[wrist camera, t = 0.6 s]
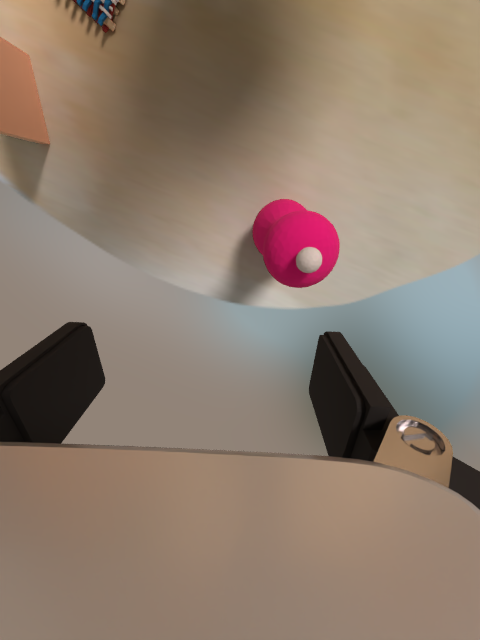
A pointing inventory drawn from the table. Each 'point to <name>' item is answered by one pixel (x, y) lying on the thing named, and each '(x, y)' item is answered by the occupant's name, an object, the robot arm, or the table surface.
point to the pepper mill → (295, 243)
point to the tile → (19, 97)
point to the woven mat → (101, 11)
